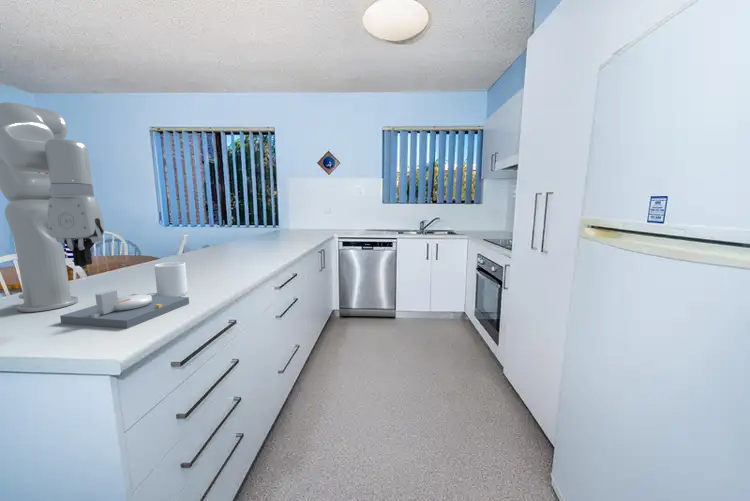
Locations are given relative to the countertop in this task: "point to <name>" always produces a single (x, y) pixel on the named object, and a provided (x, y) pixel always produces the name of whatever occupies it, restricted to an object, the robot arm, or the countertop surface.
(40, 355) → the countertop surface
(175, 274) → the mug
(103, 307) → the dial
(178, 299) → the panel
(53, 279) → the robot arm
